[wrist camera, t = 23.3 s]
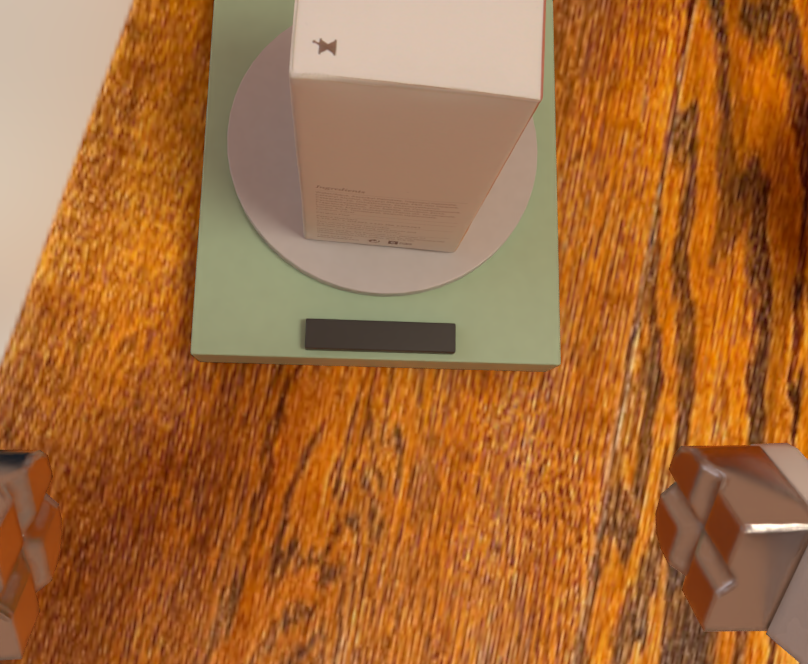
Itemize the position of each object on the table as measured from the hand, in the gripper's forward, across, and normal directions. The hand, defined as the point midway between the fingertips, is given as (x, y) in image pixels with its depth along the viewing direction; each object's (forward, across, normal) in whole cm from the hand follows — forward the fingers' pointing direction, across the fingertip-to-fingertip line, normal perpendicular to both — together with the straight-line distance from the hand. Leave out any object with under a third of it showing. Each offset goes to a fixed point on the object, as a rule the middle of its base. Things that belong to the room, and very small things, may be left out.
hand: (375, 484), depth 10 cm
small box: (+23, -2, +3) cm, 24 cm away
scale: (+25, -2, +4) cm, 26 cm away
